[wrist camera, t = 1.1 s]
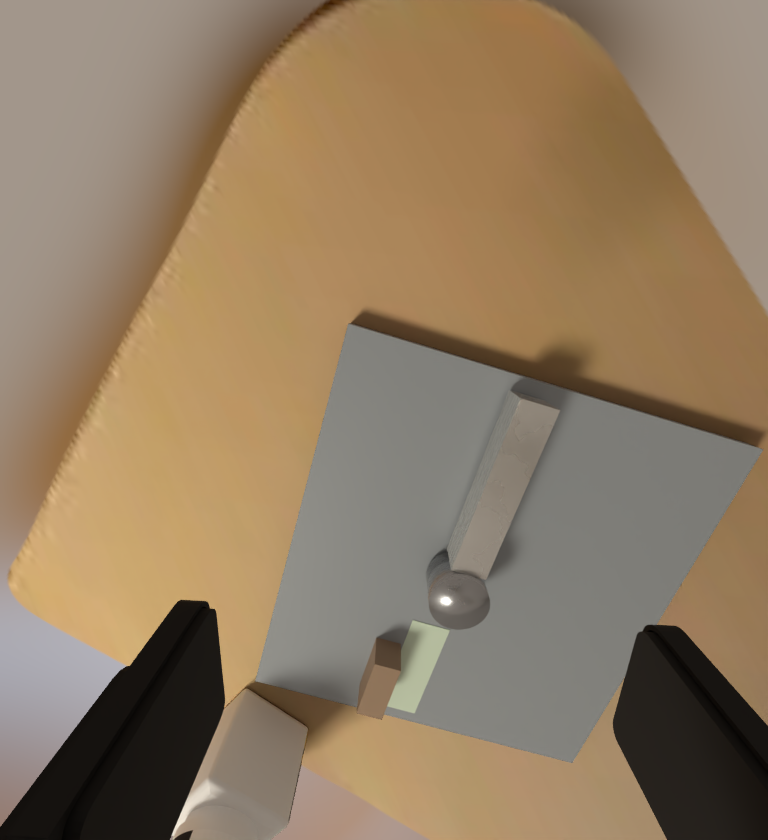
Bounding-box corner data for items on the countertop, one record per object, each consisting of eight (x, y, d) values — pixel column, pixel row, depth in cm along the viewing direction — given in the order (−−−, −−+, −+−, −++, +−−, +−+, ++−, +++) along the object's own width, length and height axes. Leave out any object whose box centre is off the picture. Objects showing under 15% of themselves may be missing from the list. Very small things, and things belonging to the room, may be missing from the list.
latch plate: (747, 443, 26) (799, 463, 23) (566, 747, 35) (584, 796, 31) (350, 323, 25) (343, 325, 22) (260, 668, 33) (244, 709, 30)
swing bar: (469, 603, 29) (477, 636, 26) (418, 589, 29) (421, 620, 26) (556, 404, 25) (577, 416, 22) (496, 385, 24) (509, 396, 22)
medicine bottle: (265, 767, 37) (204, 977, 25) (202, 729, 36) (108, 929, 24) (310, 726, 35) (267, 930, 24) (246, 684, 34) (168, 877, 23)
